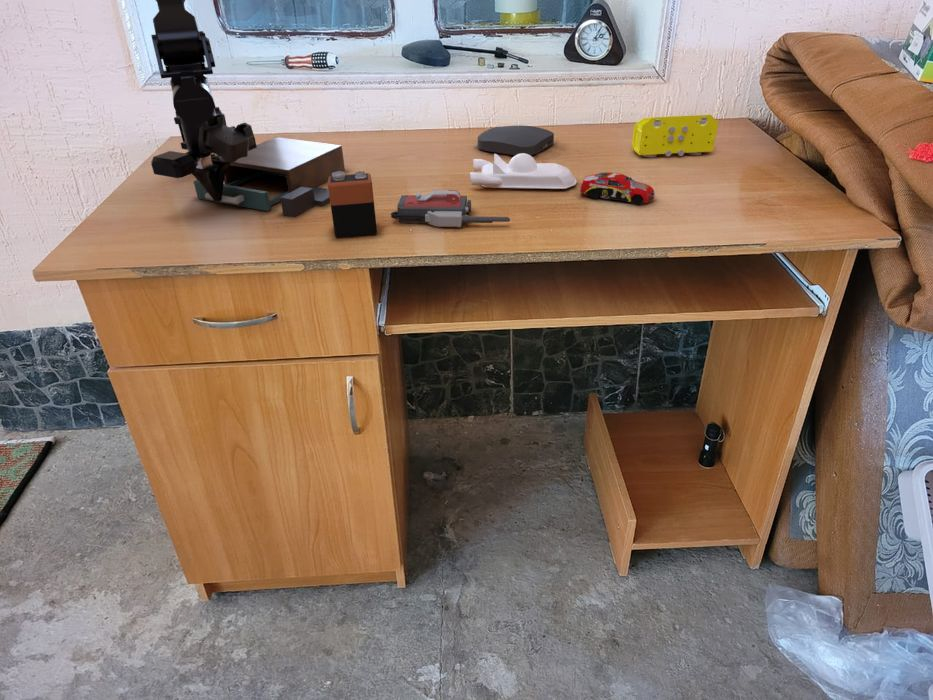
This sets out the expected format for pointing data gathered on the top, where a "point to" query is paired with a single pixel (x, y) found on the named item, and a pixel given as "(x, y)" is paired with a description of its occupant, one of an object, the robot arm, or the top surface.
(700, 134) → the yellow toy chassis
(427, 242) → the top surface
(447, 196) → the walkie-talkie
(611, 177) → the race car
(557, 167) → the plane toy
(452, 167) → the top surface
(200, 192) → the drawer
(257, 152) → the drawer unit
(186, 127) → the robot arm
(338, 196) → the battery
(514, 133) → the media streaming box
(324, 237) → the top surface
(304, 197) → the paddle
